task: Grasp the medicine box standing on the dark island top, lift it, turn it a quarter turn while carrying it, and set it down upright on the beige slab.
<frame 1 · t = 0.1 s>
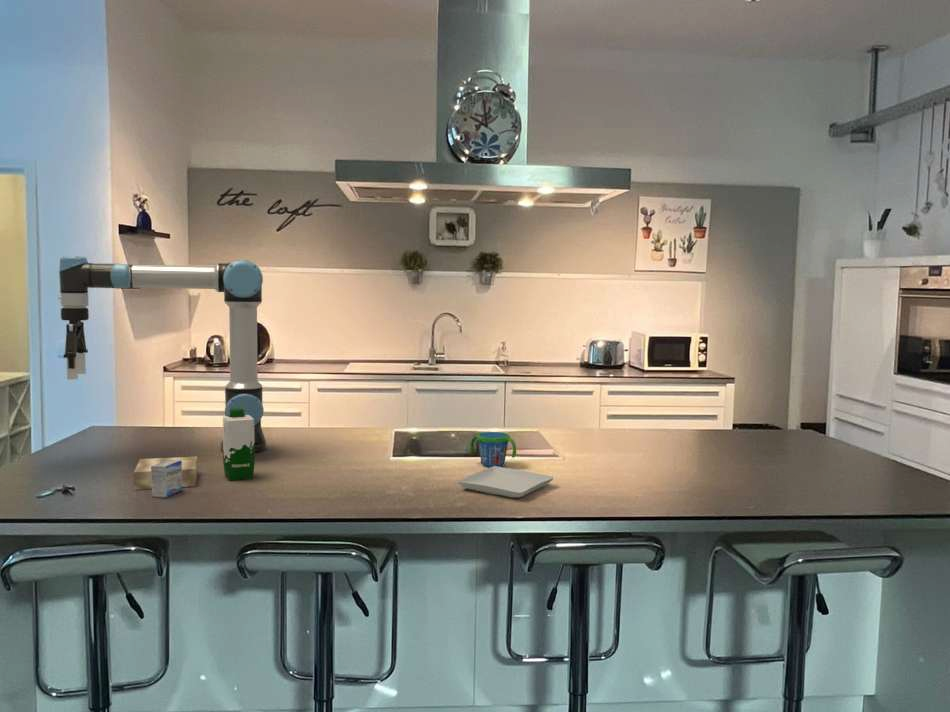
hand: (76, 376, 239), 28 cm above the counter, fingers open, 13 cm apart
medicine box: (167, 494, 214), on the counter
snack cup: (492, 466, 254), on the counter
milk carton: (239, 477, 233), on the counter
salad plate: (506, 489, 227), on the counter
beige slab: (167, 480, 227), on the counter
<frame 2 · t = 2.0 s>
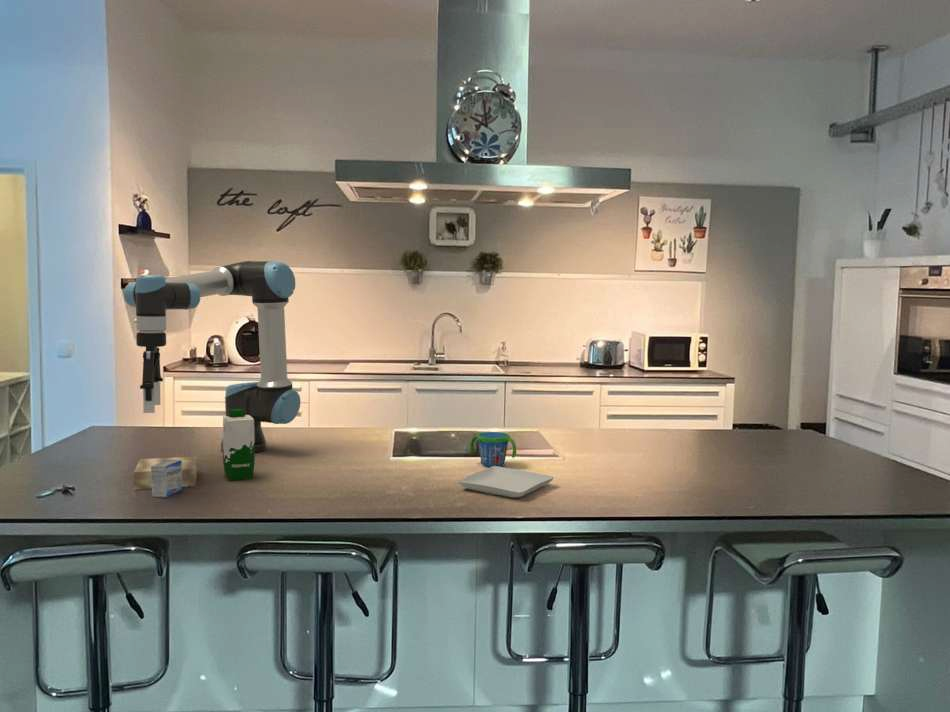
hand: (152, 408, 215), 23 cm above the counter, fingers open, 13 cm apart
nothing on the counter moved.
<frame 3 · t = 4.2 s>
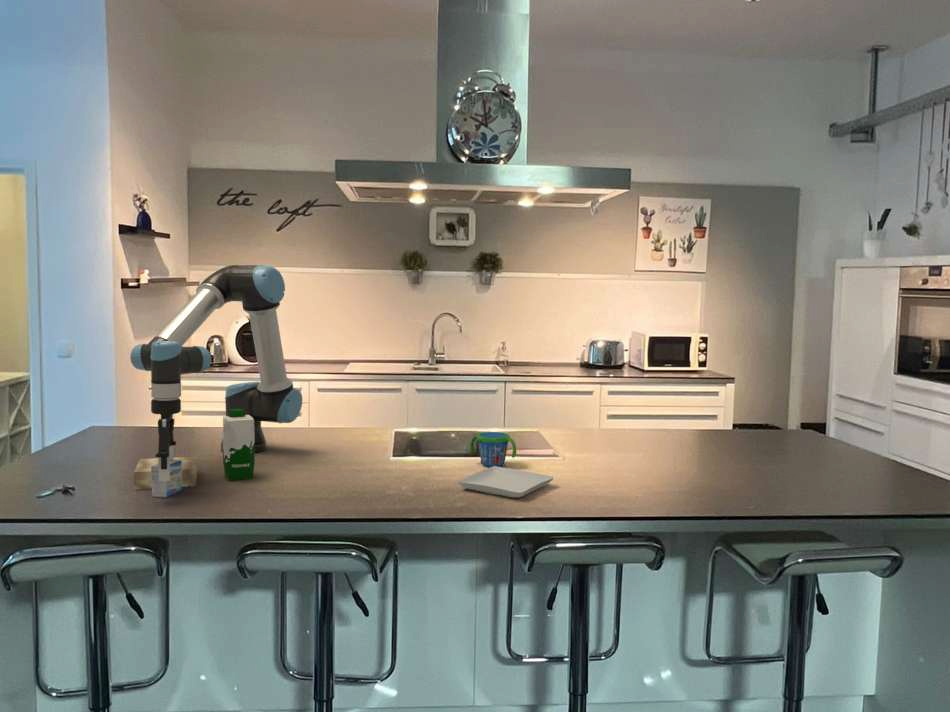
hand: (166, 475, 213), 5 cm above the counter, fingers open, 13 cm apart
nothing on the counter moved.
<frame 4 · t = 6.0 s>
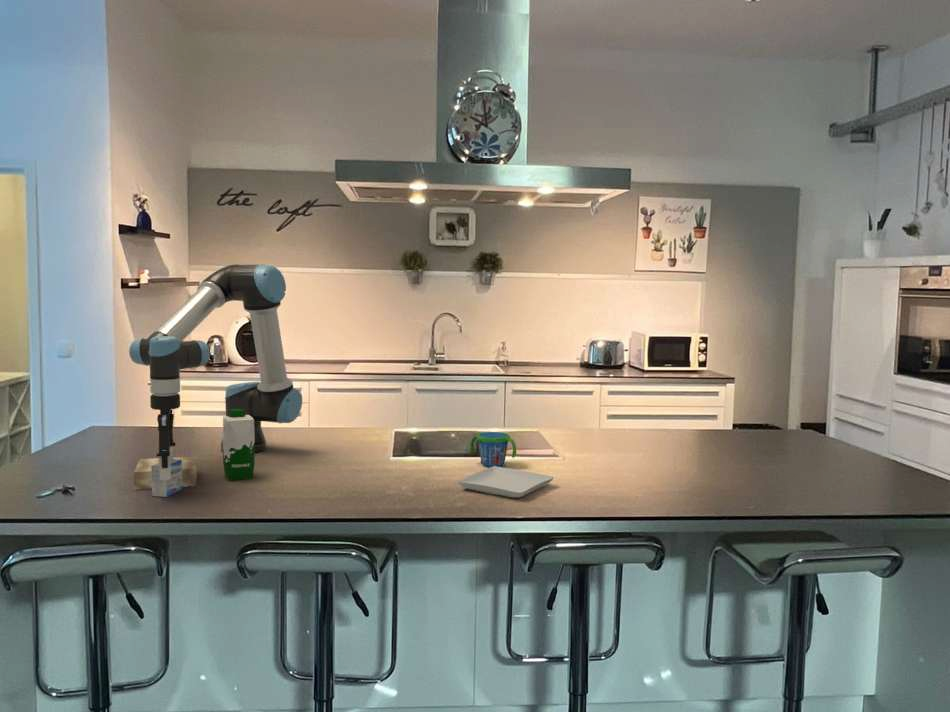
hand: (166, 474, 214), 5 cm above the counter, fingers open, 9 cm apart
medicine box: (167, 493, 214), on the counter, touching gripper
everything else where it was.
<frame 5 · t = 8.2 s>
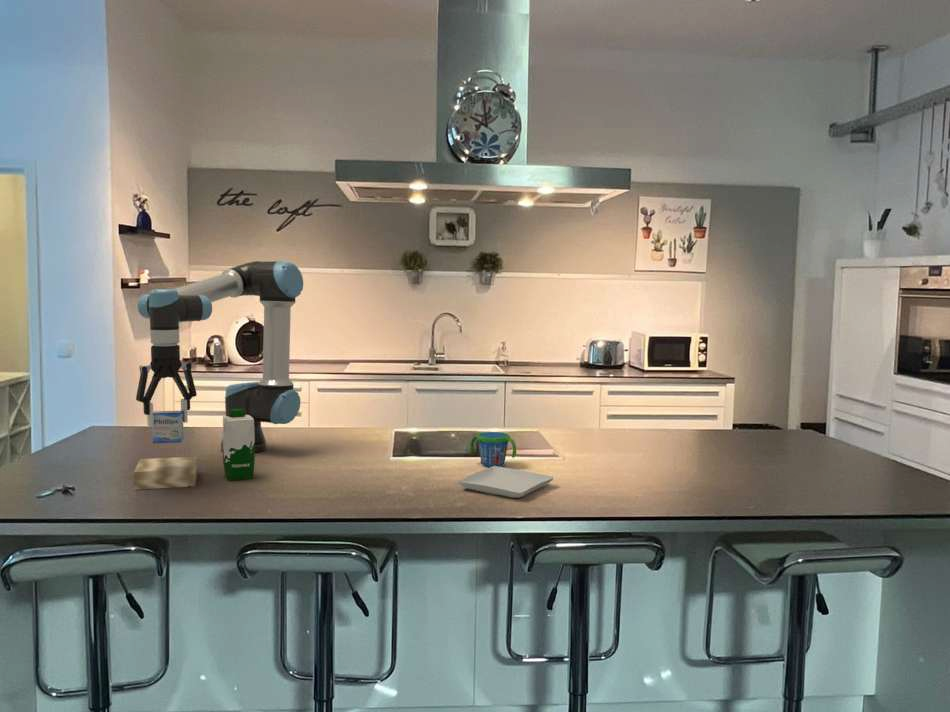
hand: (167, 423, 221), 18 cm above the counter, fingers closed on medicine box, 9 cm apart
medicine box: (168, 442, 221), point 12 cm above the counter, touching gripper
everything else where it was.
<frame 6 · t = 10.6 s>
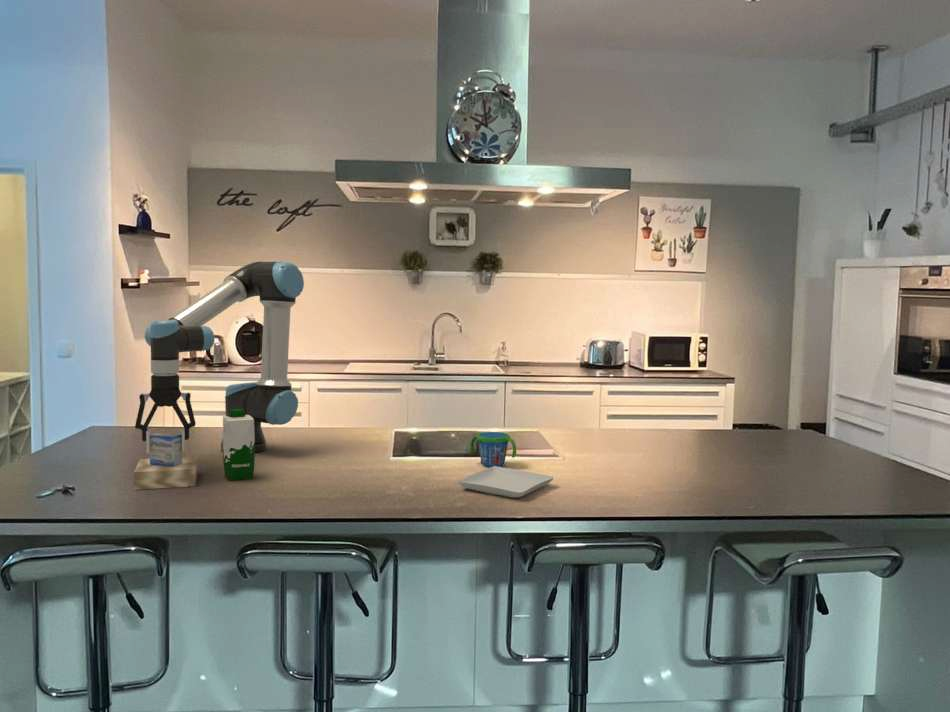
hand: (166, 451, 226), 9 cm above the counter, fingers closed on medicine box, 9 cm apart
medicine box: (166, 464, 226), point 5 cm above the counter, touching beige slab, gripper
everything else where it was.
when the fingers open (9 cm above the counter, at t = 11.4 s): medicine box stays where it is, resting on beige slab.
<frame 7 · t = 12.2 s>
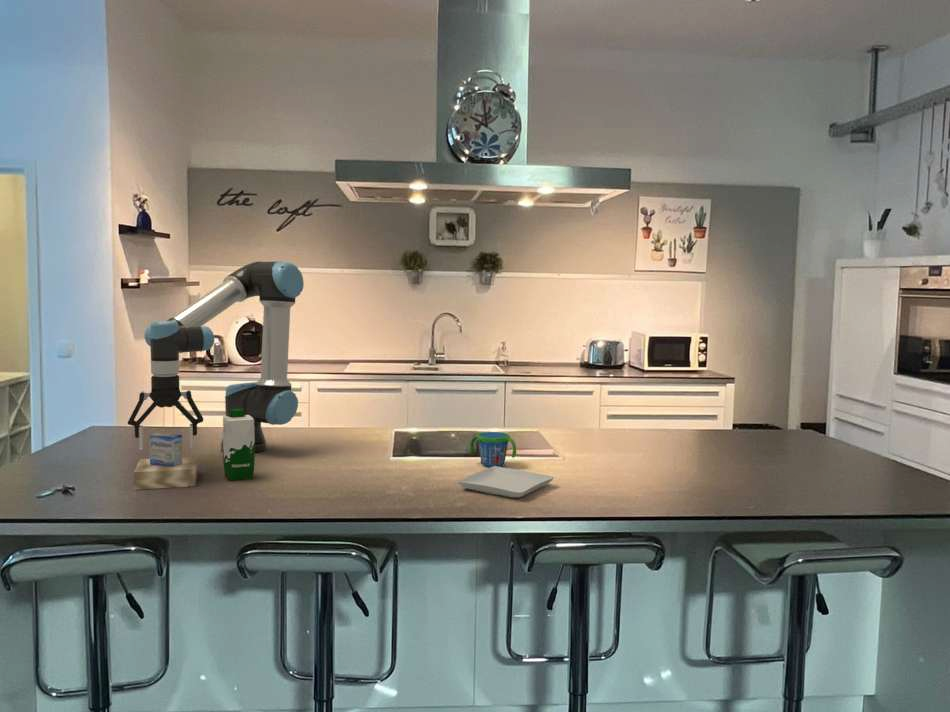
hand: (166, 447, 226), 10 cm above the counter, fingers open, 13 cm apart
medicine box: (166, 464, 226), point 5 cm above the counter, touching beige slab
everything else where it was.
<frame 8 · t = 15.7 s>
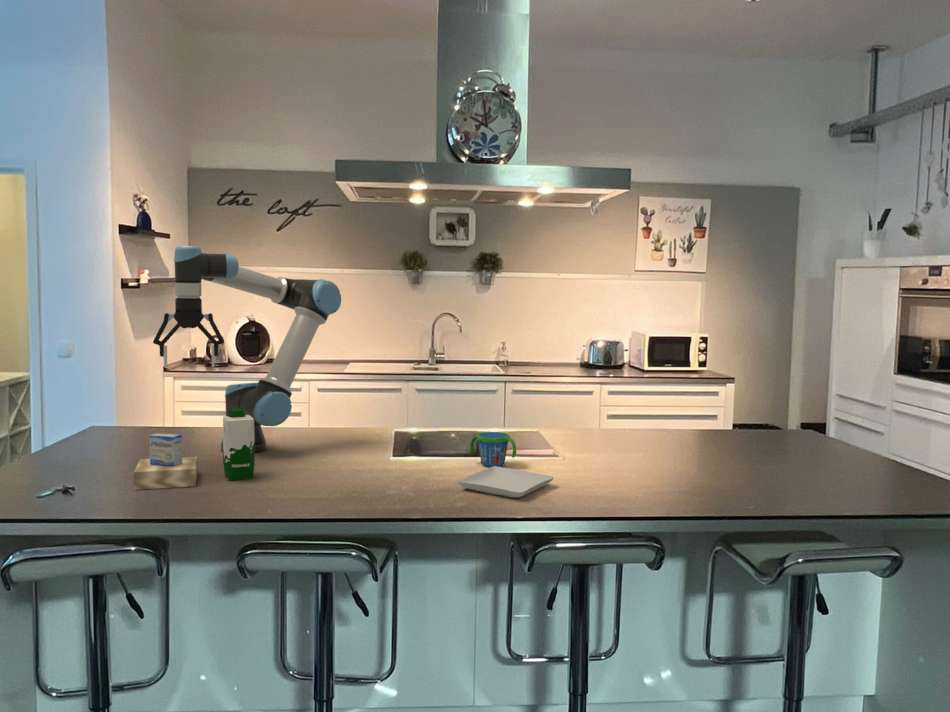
hand: (189, 367, 238), 32 cm above the counter, fingers open, 13 cm apart
nothing on the counter moved.
at the end: medicine box inside the target area on the beige slab (0.2 cm from its centre), point 4.8 cm above the beige slab's base; medicine box tilted 0°; the gripper is holding nothing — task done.
